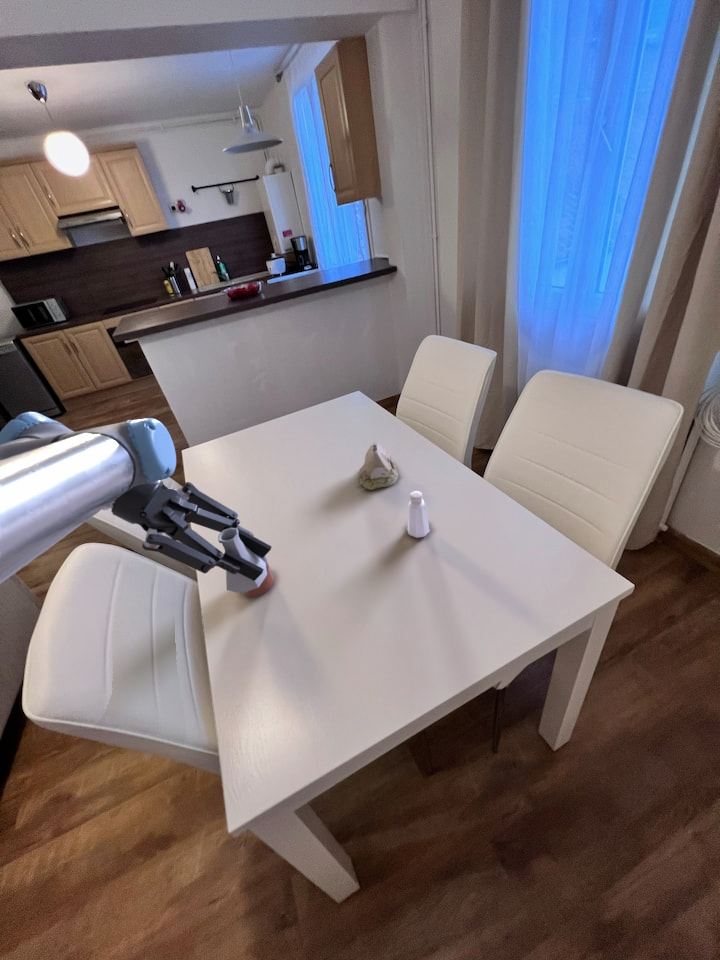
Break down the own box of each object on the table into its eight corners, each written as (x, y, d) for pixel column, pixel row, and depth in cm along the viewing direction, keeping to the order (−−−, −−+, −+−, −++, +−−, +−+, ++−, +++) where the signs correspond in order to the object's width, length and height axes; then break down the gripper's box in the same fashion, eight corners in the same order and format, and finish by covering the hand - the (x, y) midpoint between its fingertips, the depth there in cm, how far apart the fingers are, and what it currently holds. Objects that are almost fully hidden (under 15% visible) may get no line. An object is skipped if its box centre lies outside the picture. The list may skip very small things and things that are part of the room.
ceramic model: (399, 487, 111) (396, 457, 105) (359, 491, 112) (354, 461, 106) (396, 459, 122) (393, 431, 117) (360, 463, 123) (355, 435, 118)
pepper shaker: (434, 531, 95) (433, 495, 89) (415, 541, 94) (413, 505, 87) (420, 519, 99) (418, 484, 93) (402, 528, 98) (399, 493, 91)
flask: (263, 592, 65) (244, 549, 59) (220, 596, 66) (198, 553, 60) (271, 559, 71) (255, 517, 65) (232, 562, 72) (213, 521, 66)
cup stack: (262, 600, 86) (249, 570, 80) (236, 591, 89) (222, 562, 83) (280, 575, 91) (268, 546, 85) (255, 568, 94) (243, 539, 88)
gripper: (95, 514, 50) (259, 596, 57) (161, 442, 64) (286, 515, 71) (80, 546, 54) (235, 619, 61) (146, 471, 68) (266, 538, 75)
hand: (263, 563), depth 66 cm, fingers closed on flask, 4 cm apart
